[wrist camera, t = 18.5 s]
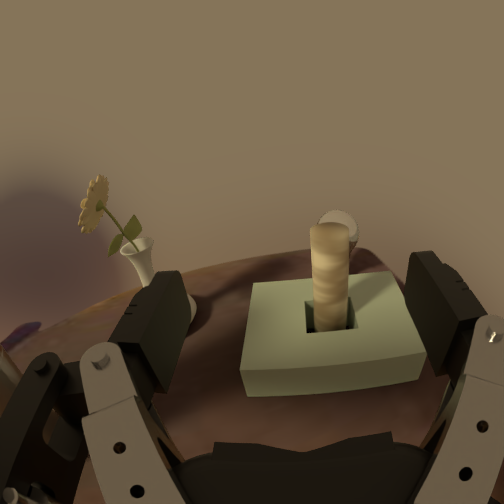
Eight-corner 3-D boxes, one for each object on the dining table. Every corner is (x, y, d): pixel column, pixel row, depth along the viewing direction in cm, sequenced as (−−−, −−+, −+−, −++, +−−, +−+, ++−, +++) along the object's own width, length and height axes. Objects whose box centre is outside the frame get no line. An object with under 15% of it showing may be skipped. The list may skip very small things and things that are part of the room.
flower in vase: (157, 297, 53) (114, 161, 41) (211, 305, 49) (172, 150, 37) (113, 344, 42) (48, 192, 31) (170, 362, 38) (101, 181, 26)
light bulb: (326, 294, 46) (324, 223, 41) (311, 272, 53) (307, 207, 47) (365, 283, 47) (367, 215, 42) (347, 263, 53) (346, 200, 48)
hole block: (247, 396, 32) (239, 370, 29) (258, 309, 46) (253, 283, 43) (418, 379, 29) (428, 351, 26) (387, 298, 43) (390, 270, 40)
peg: (315, 355, 36) (311, 240, 28) (313, 334, 39) (308, 223, 32) (346, 352, 35) (352, 237, 28) (342, 331, 39) (345, 220, 31)
